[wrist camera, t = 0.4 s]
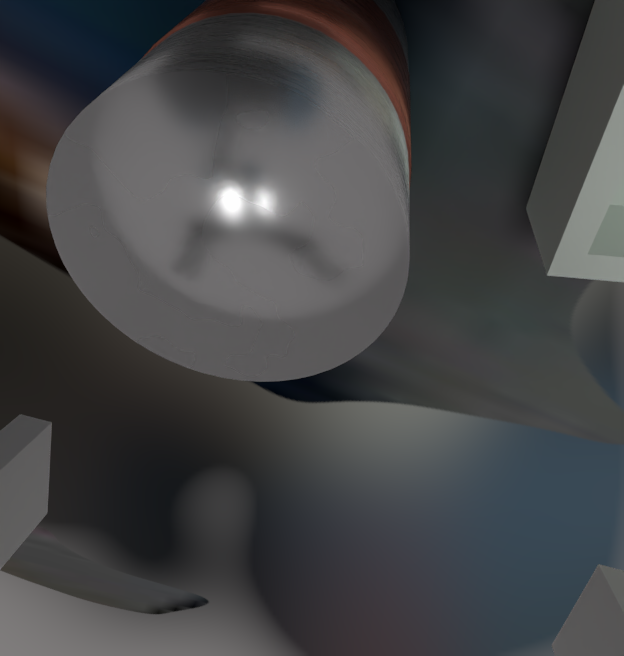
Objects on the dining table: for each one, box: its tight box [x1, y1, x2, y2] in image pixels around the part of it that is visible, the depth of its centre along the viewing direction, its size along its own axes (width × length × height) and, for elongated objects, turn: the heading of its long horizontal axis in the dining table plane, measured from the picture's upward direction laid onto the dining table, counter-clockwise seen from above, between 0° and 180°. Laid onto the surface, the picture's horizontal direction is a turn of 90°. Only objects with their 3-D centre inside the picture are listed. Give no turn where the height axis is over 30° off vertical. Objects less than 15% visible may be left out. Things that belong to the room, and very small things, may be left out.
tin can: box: [46, 0, 411, 382], centre depth 15 cm, size 7×7×12 cm
